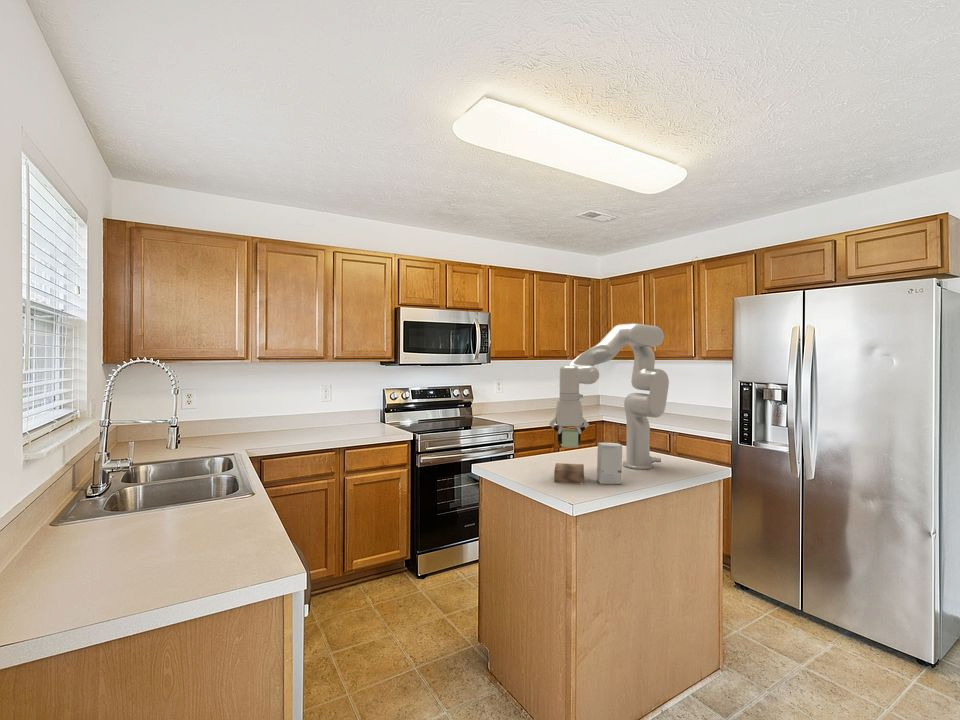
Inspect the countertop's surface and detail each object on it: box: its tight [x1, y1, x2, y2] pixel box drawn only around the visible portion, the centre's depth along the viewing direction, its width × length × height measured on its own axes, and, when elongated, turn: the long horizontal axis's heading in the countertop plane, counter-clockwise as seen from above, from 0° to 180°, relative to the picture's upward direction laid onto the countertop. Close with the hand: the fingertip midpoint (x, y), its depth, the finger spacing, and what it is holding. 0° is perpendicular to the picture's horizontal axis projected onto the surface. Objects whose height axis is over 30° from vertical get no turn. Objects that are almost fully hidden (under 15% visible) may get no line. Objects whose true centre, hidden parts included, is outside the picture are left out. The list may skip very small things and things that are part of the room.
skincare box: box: [596, 442, 623, 485], centre depth 183 cm, size 8×6×15 cm
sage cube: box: [559, 428, 579, 448], centre depth 188 cm, size 6×6×6 cm
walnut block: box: [553, 462, 585, 485], centre depth 188 cm, size 11×11×5 cm
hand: (568, 443), depth 188 cm, fingers closed on sage cube, 6 cm apart
